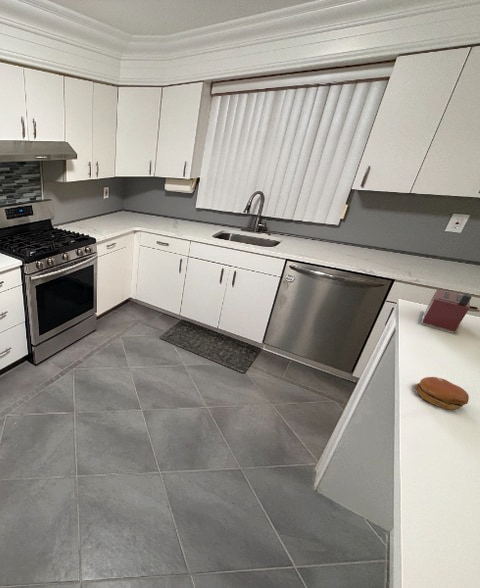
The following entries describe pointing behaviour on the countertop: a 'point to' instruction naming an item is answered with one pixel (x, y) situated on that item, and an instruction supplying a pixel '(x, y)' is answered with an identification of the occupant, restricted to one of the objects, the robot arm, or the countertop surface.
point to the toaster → (445, 311)
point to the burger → (442, 393)
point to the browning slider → (465, 299)
